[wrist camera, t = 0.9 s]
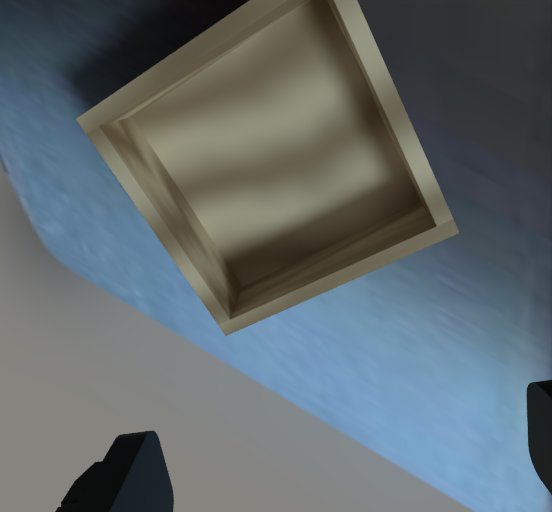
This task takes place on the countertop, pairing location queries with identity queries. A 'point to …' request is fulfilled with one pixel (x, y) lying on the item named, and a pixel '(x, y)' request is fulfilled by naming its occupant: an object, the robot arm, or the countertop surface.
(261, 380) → the countertop surface
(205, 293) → the crate
